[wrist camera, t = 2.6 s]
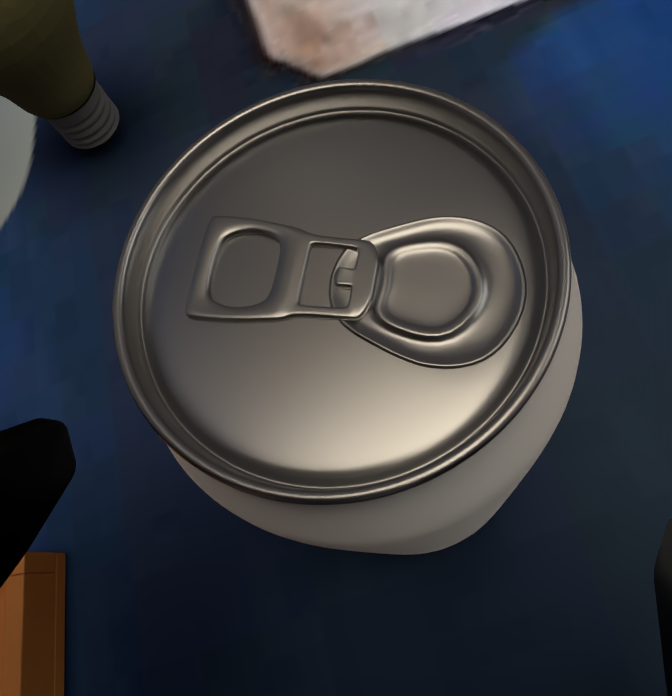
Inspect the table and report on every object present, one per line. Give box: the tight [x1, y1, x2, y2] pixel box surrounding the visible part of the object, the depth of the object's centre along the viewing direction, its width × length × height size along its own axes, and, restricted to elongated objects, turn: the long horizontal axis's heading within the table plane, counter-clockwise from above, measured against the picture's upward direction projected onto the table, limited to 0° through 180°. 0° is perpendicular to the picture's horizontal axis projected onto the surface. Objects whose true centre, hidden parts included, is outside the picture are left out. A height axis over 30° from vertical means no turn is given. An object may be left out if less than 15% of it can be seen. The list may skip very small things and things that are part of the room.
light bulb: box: [0, 0, 119, 149], centre depth 20 cm, size 6×6×10 cm
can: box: [112, 79, 582, 555], centre depth 13 cm, size 6×6×12 cm
